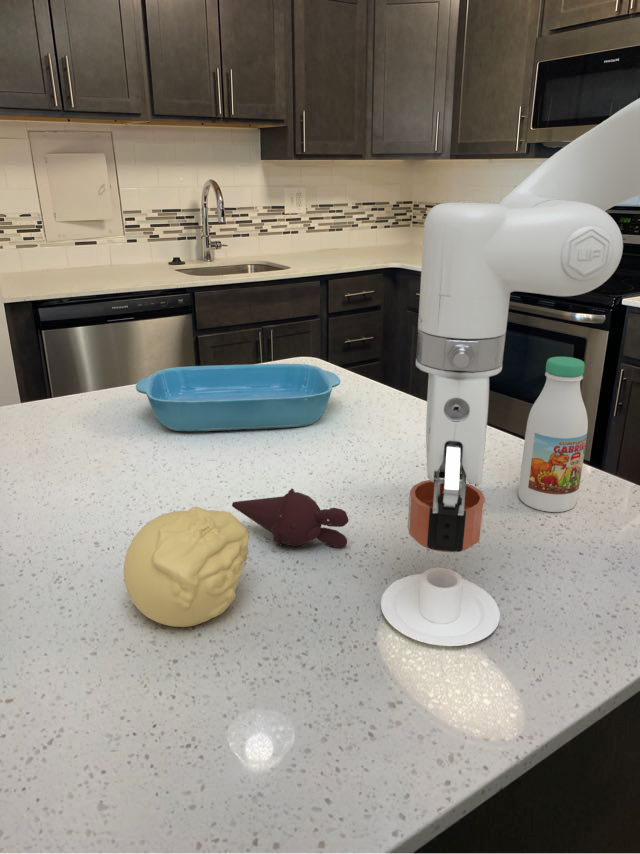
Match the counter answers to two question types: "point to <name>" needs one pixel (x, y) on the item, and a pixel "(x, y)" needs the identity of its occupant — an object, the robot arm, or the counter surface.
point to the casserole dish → (238, 396)
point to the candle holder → (440, 608)
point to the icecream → (295, 519)
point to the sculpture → (186, 566)
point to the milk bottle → (555, 439)
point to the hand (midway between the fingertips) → (444, 526)
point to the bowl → (423, 502)
